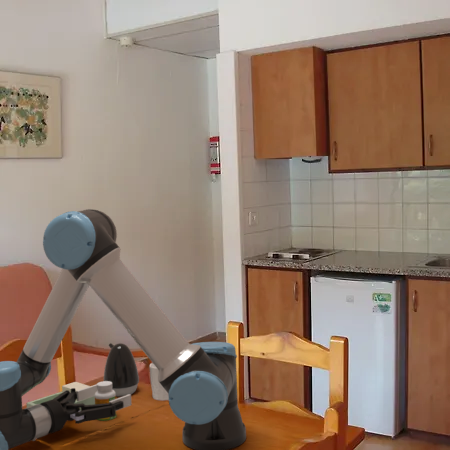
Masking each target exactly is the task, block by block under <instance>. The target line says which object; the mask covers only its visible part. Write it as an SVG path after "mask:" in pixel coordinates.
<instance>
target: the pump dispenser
mask: <svg viewBox="0 0 450 450" xmlns="http://www.w3.org/2000/svg"><path fill="white" fill-rule="evenodd" d="M108 348H110V350H109V352H108V355H107V358H106V362H105V366H104V372H103V381H110V382H112V390H114V391H115V394H116V397H123V396H126V395H128V394H130V395H132V394H134V393H135V392H136V390H137V388H138V385H139V383H140V376H139V370H138V366H137V364H136V360H135V357H134V355H133V353H132V351H131V349H130V348H129V345H127V344H125V343H121V342H119V343H116V344H113V343H111V342H110V343H109V344H108Z"/></svg>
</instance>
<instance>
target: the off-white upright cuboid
mask: <svg viewBox="0 0 450 450" xmlns="http://www.w3.org/2000/svg"><path fill="white" fill-rule="evenodd" d="M87 387H90V385H88V384H84V383H81V382H78V381H73V382H71V383H68V384H63V385H61V392H62V393H63V392H64V391H66V390H68V391H69V392H71V389H72V388H75V392H77V391H78V390H81V389H84V388H87ZM76 401H77V399H76Z"/></svg>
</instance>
